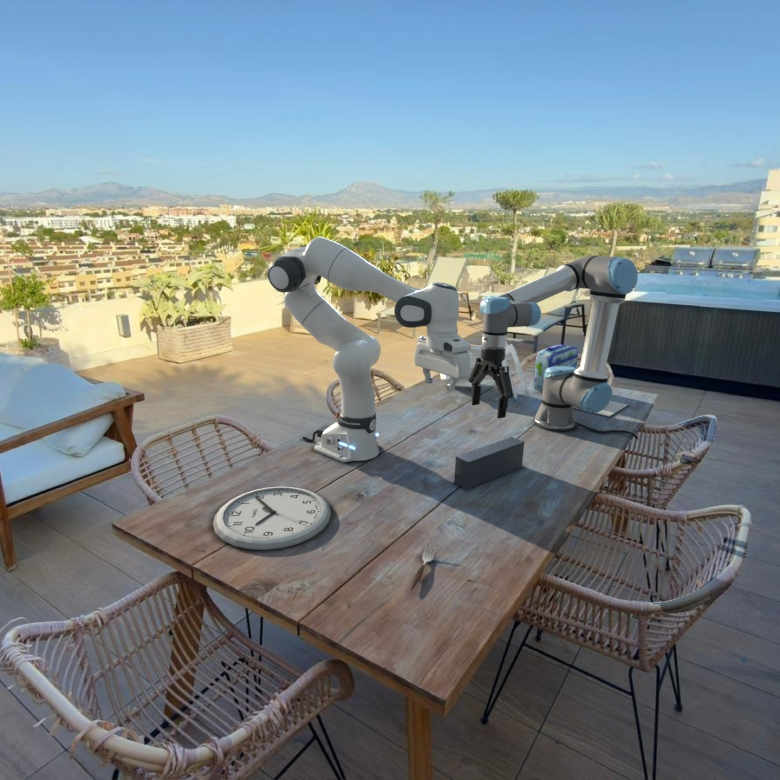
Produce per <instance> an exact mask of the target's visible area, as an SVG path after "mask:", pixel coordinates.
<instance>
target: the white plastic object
mask: <svg viewBox="0 0 780 780" xmlns="http://www.w3.org/2000/svg"><path fill="white" fill-rule="evenodd" d="M482 347H483V345H482V344H479V345H473V346H471V348H470V350H469V351H467V352H468V353H469V355H470V374H469V376H468V377H467V378H464V379H459V380H458V382H457V383H456V385H458V384H467V383H468V384H469V383H470V382H469V377H470V375H471V373H472V371H473V368H474V366H475V363H476V358H480V357H481V348H482ZM504 348H505V349H506V350H505V359H504V360H503V361H502V366H509V365H508V361H510V360H513V363H514V366H515V369H516V372H517V376H518V380H519V382H520V385H521V389H522V391H523V393H524V395H525V396H526V397H528V396H531V395H530V390H529V388H528V387H529V386H528V384H527V381H526V378H525V375H524V371H523V369H522V368H523V367H522V366H521V362H520V359H519V355H518V352H517V349H516V347H515V346H514V345H513V343H511V344H508V341H506V347H504ZM439 376H440V381H442V383H443V384H444V385H445V386H447V385H448V384H450V382H451V380H450V376H447V375H444V374H441V373H439ZM509 376H510V381H511V385H512V390H513V395H514V397H513V398H514V399H515V400H517V392H516V391H517V390H516V388H515V385H514V381H513V378H512V375H511V371H510V370H509Z"/></svg>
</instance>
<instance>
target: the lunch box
mask: <svg viewBox="0 0 780 780" xmlns="http://www.w3.org/2000/svg"><path fill="white" fill-rule="evenodd" d="M578 353H579V352H578V347H577V346H571V345H565V344H556V345H553V346H549V347H546V348H544V349H541V350H539V351H538V353H537V354H536V357H535V361H534V371H533V372H534V373H533V389H534V390H535V391H539V392H542V390H543V378H544V375H545V370H546V369H547V368H549V367H555V366H568V367H575V368H576V369H577V366H578V356H579V354H578Z"/></svg>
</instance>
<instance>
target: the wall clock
mask: <svg viewBox="0 0 780 780" xmlns="http://www.w3.org/2000/svg"><path fill="white" fill-rule="evenodd" d="M331 516H332V512H331V507H330V504H329V503H328V502H327V500H326V499H325V498H323V497H322V496H320V495H319V494H317V493H316V492H313V491H310V490H308V489H305V488H300V487H293V486H271V487H263V488H259V489H253V490H251V491H247V492H244V493H242V494H239V495H238V496H235V497H234V498H232V499H230V500H228V501H227V502H226V503H225V504H223V505H222V506H221V507H220V508H219V510H218V511H217V512H216V514H215V515H214V518H213V522H212V527H213V529H214V533H215V535H217V536H218V537H219V538H220V539H221V541H222V542H225V543H227V544H229V545H231V546H233V547H237V548H242V549H246V550H258V551H259V550H260V551H267V550H276V549H284V548H288V547H291V546H295V545H299V544H301V543H303V542H305V541H308V540H310V539H312V538H314V537H316V536H317V535H318V534H319V533H321V532H322V531H323V530H324V529H325V527H326V526H327V525H328V524H329V522H330V520H331Z"/></svg>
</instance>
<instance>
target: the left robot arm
mask: <svg viewBox="0 0 780 780" xmlns="http://www.w3.org/2000/svg"><path fill="white" fill-rule="evenodd" d="M266 275H267V279H268V282H269V283H270V285H271V287H272V288H273V289H275V291H277V292H279V293H284V296H283V303H284V305H285V307H286V308H287V310H288V311H289V313H290V314H291V315H292V317H293V318H294V319H295V320H296V321H297V322H298V324H299V325H301V326H302V327H303V329H305V330H306V331H307V332H308V333H309V334H310V335H311V336H312V337H313V338H314V339H315V340H316V341H317V342H319V343H320V344H322V345H325V346H327V347H329V348H331V349H332V350H334V351H335V353H334V355H333V357H332V361H331V362H332V368H333V370H334V372H335V373H336V375H337V379H338V383H339V386H340V388H339V389H340V402H341V403H340V409H341V410H340V411H338V413H335V414H334V419H336V418H337V419H336V421H335V422H334V423H332V424H331V425H324V426H321V427H319V428H318V429H316V430H315V431H313V433H312V438H308V437H306V436H302V440H305V441H307V442H309V443H311V442H314V441H316V436H317V438H320V441H318V442H316V444H315V445H314V447H313V451H315V452H318V453H320V454H322V455H325V456H327V457H329V458H332V460H333V459H334V460H336V461H338V462H340V463H349V462H361V461H368V460H371V459H373V458H376V457H377V456H378V455H380V449H379V446H378V441H377V437H379V435H380V433H379V432H376V428H377V412H376V390H375V387H374V385H373V380H372V374H371V371H372V367H374V365H376V363H377V362H378V361H379V359H380V356H381V352H382V347H381V343H380V342H379V340H378V339H377V338H376V337H374V336H373V335H370V334H368V333H367V332H365V331H363V330H362V329H361V328H359V327H357V326H356V325H355V324H353V323H352V322H351V321H349V320H348V319H346V318H345V317H344V316H342V314H340V312H339V311H338V310H337V309H335V308H334V307H333V306H332V304H330V303H329V302H328V301H327V300H326V299H325V298H324V297H323V296H322V295H321V294H320V293H319V292H318V291H317V289H316V285H318V284H320V282H321V281H322V278H323V279H325V280H326V281H328V282H329V283H332V284H333V285H334V286H336V287H338V288H341V289H343V290H346V291H348V292H370V293H376V294H378V295H380V296H383V297H385V298H387V299H388V300H391V301H392V302H393V303H395V306H394V311H393V312H394V317H395V320H396V321H397V322H398V324H399V325H401V326H402V327H403V328H408V329H415V328H421V327H426V336H425V335H420V336H419V337H418V338H417V339H416V345H415V349H414V357H413V363H414V365H415V366H416V367H420V368H422V373H423V375H424V382H425V384H432V383H433V382H434V381H433V380H434V378H433V376H432V374H431V371H432V372H435V373H437V374H440V373H441V374H444V375H447V376H450V380H451V382H450V384H448V385H446V390H447V391H448V392H455V390H456V385H457V384H456V383H457V382H458V380H459V379H464V378H467V377H468V376H469V374H470V355H469V353H468V352H467V351H469V350H470V348H471V347H472V346H471V343H470V342H469V341H467V340H466V339H464V338H463V337H462V336H460V334H458V333H459V329H458V319H459V315H460V297H459V291H458V289H457V288H456V287H455V286H454V285H451V284H449V283H446V282H432V283H430V284H429V285H428V286H427V287H424V288H417V287H413V286H410V285H408V284H406V283H405V282H403V281H402V280H399V279H397V278H395V277H393V276H392V275H390V274H388V273H386V272H384V271H382V270H381V269H379V268H378V267H376V266H375V265H374V264H372V263H370V262H369V261H368V260H366V259H365V258H364V257H361V256H360V255H359V254H357V253H356V252H354V251H353V250H351V249H350V248H348V247H346V246H345V245H342V244H341V243H338V242H337V241H334V240H331V239H329V238H326V237H322V236H317V237H314V238H312V239H311V240H310V241H309V242H308V243H307V244H305V245H302V246H300V247H297V248H293V249H291V250H289V251H287V252H286V253H284V254H282V255H281V256H278V257H276V258H274V259H273V261H271V262H270V264H269V265H268V267H267V272H266Z"/></svg>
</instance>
